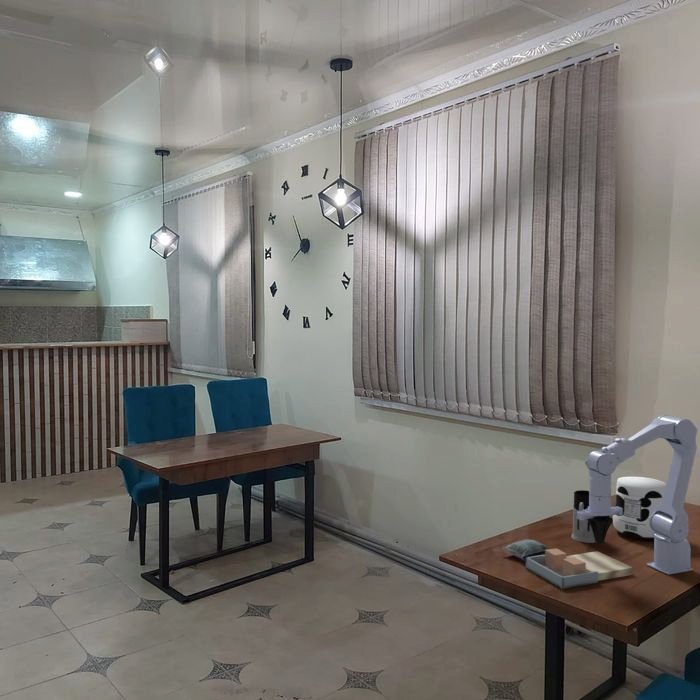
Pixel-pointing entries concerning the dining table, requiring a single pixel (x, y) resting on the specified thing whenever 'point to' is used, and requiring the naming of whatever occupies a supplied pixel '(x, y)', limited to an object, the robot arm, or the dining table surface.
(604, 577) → the board
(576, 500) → the glass holder
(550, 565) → the wooden cube
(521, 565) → the dining table surface
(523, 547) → the grey green pillow
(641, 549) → the dining table surface
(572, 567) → the wooden cube
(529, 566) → the tray
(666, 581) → the dining table surface
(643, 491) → the milk container
